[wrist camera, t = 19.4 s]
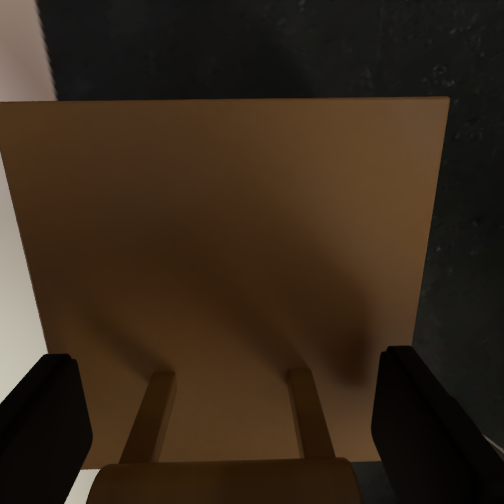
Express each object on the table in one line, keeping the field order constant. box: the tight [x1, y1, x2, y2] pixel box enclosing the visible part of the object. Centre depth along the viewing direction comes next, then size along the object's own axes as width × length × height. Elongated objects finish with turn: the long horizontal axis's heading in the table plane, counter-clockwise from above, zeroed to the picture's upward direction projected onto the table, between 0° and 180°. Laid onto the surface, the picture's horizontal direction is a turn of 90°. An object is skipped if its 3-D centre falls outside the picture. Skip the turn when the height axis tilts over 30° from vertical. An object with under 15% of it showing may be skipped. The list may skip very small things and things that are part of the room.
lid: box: [0, 96, 450, 504], centre depth 8 cm, size 11×11×5 cm
